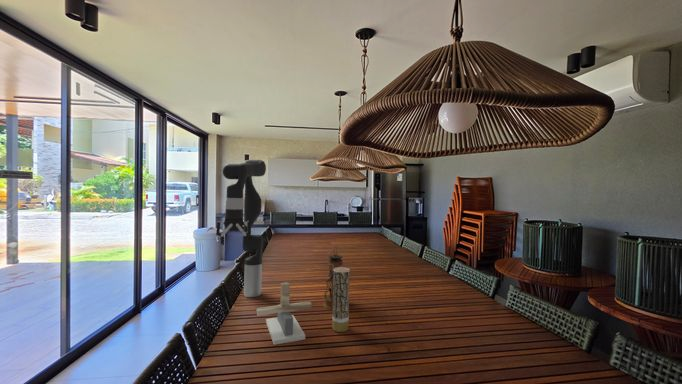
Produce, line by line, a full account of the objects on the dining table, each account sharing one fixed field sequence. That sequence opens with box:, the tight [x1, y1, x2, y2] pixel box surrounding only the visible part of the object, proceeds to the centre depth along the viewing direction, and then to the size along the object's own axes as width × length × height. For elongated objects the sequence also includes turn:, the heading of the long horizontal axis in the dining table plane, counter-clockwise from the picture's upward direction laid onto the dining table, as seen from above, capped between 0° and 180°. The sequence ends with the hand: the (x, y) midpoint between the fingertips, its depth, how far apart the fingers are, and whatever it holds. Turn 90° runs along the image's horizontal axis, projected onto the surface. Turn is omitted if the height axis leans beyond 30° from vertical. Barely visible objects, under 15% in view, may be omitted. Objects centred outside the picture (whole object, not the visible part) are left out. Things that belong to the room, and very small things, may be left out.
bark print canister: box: [331, 266, 351, 333], centre depth 117 cm, size 7×7×25 cm
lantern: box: [322, 246, 344, 311], centre depth 143 cm, size 17×13×30 cm
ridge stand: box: [265, 303, 306, 346], centre depth 115 cm, size 20×12×8 cm, turn 23°
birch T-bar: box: [256, 282, 312, 317], centre depth 115 cm, size 3×22×11 cm, turn 113°
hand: (233, 244), depth 124 cm, fingers open, 8 cm apart
